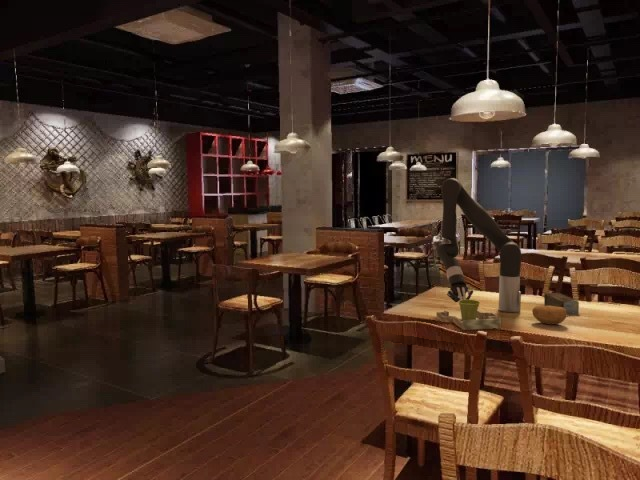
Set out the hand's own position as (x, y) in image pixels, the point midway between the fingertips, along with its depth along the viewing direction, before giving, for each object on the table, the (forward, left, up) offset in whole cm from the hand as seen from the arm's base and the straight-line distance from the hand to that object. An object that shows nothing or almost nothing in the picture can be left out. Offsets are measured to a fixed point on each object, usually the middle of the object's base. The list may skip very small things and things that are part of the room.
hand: (464, 308), depth 235 cm
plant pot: (0, +4, -4) cm, 6 cm away
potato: (-33, +14, -5) cm, 36 cm away
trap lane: (0, +6, -4) cm, 7 cm away
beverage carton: (-54, -10, -5) cm, 55 cm away
